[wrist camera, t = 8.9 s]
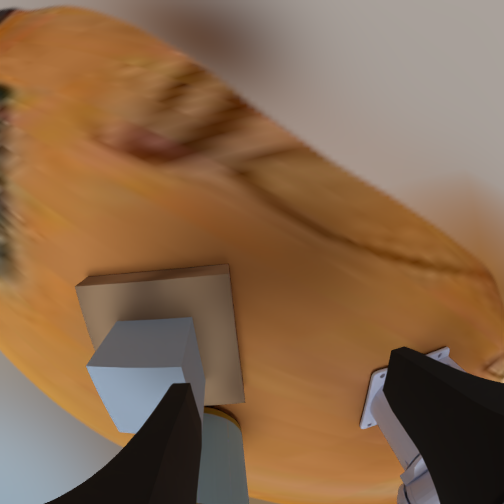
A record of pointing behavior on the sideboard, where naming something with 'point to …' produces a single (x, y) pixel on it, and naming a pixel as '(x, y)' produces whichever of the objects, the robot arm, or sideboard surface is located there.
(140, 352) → the cube
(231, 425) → the bottle
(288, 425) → the sideboard surface
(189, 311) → the base slab
